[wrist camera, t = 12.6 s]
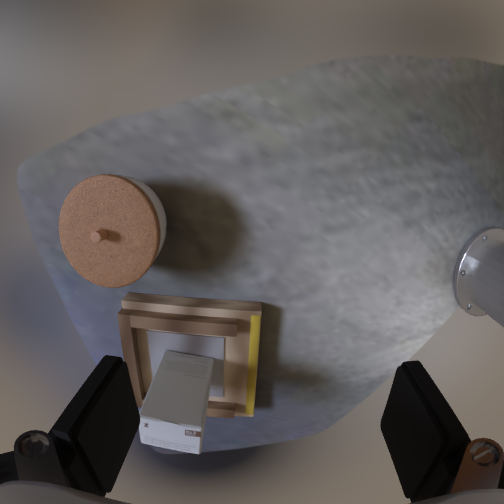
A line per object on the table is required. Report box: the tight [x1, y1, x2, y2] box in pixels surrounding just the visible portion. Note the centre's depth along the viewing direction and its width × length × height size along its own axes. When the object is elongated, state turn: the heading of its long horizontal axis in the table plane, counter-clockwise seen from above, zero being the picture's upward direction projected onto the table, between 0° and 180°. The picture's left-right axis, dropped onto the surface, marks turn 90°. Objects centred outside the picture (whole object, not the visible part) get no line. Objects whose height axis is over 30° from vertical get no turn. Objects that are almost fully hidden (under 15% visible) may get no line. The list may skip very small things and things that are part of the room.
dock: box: [118, 292, 262, 418], centre depth 38 cm, size 16×16×4 cm
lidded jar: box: [59, 174, 167, 288], centre depth 31 cm, size 11×11×9 cm
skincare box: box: [139, 350, 214, 454], centre depth 31 cm, size 6×4×12 cm
